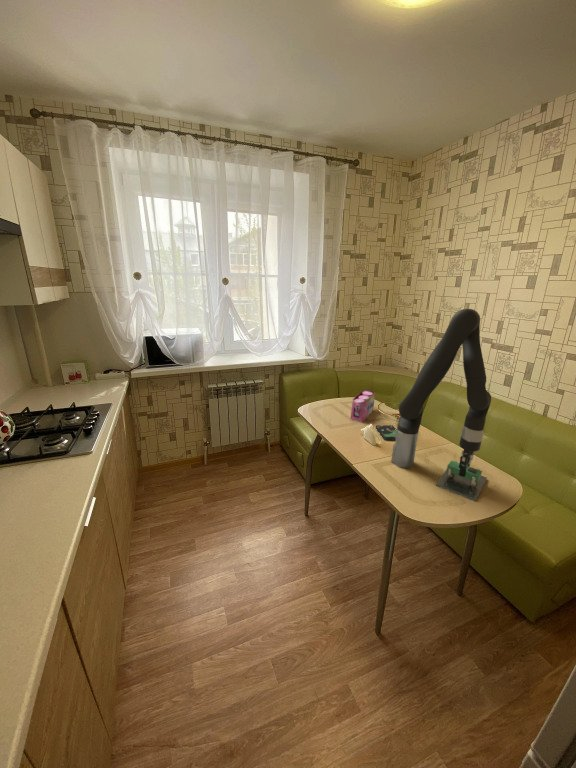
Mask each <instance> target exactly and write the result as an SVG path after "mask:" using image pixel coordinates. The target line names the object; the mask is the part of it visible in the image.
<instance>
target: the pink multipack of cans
mask: <svg viewBox="0 0 576 768" xmlns="http://www.w3.org/2000/svg"><path fill="white" fill-rule="evenodd" d="M375 397H376V391H372V390H368V389H364V390H362V391H361V392H360V393H358V394H357V395H356V396H355V397H353V398H352V401H351V409H350V420H351V419H352V420H351V421H355V420H356V421H357V422H360V423H363V422H364V421H365V420H366V419H367V418H368V417H369V416H370V415H371V414H372V413H373V412H374V409H375V407H374V405H375ZM372 411H373V412H372ZM371 412H372V413H371ZM370 413H371V414H370ZM369 414H370V415H369ZM368 415H369V416H368ZM367 416H368V417H367ZM366 417H367V418H366ZM356 421H355V422H356Z"/></svg>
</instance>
